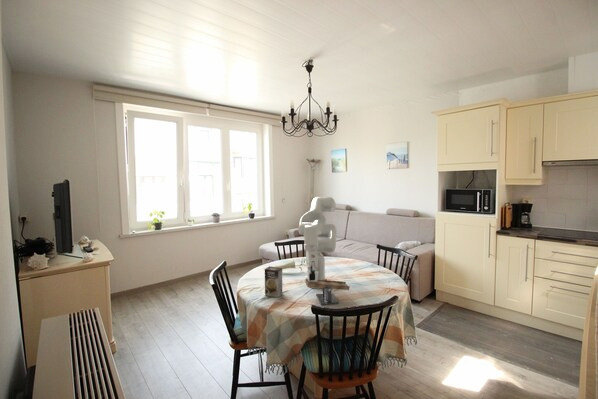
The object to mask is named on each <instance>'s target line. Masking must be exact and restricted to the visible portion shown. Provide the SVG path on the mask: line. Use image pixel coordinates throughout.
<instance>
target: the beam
mask: <svg viewBox="0 0 598 399" xmlns="http://www.w3.org/2000/svg"><path fill="white" fill-rule="evenodd" d="M304 283H305V284H306V286H307V288H311V287H314V288H313V289H315V288H320V289H323V288H327V286H329V285H331V290H341V291H350V286H349V285H348V284H347V282H346V281H343V280H342V281H339V280H328V279H327V280H317V282H312V281H308V279H306V280H305V281H304Z"/></svg>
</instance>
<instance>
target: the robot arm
mask: <svg viewBox="0 0 598 399" xmlns="http://www.w3.org/2000/svg"><path fill="white" fill-rule="evenodd" d="M336 206H337V203H336V201H335V199H334V198H333V197H331V196H316V197H314V198H313V199H312V201H311V202H310V208H309V211H307V212H306V213H304V214H303V215H302V216H301V218H300V219H299V223H298V230H297V231H298V233H299V235H301V236H303V240H304V244H303V246H304V251H305V264H306V265H307V269H308V268H310V273H309V280H310V281H312V280H315V269H317V270H318V271H319V273H318V280H323V279H325V277H326V275H325V274H326V271H325V270H326V269H325V267H326V266H325V265H326V263H325V262H326V260H325V259H326V258H325V256H324V255H323V253H333V252H335V251H336V247H337V227H336V225H335V224H333V223H327V218H326V217H325V216H324V213H333V212H335V211H336ZM311 269H312V270H311ZM304 278H305V280H306V279H307V276H306V275H305V277H304ZM310 288H312V289H316V290H317V289H321V288H314V287H310Z"/></svg>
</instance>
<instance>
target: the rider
mask: <svg viewBox="0 0 598 399" xmlns="http://www.w3.org/2000/svg"><path fill="white" fill-rule="evenodd" d="M311 270H312V269H311ZM309 273H310V268H308V267H307V279H308V281H310V280H309ZM318 273H319V271H318V270H317V269H315V280H312V282H317V280H318Z"/></svg>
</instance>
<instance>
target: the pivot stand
mask: <svg viewBox="0 0 598 399" xmlns="http://www.w3.org/2000/svg"><path fill="white" fill-rule="evenodd" d="M323 280H328V279H327V278H326V279H323ZM315 296H316V298H317V301H318V302H319V304H320V306H329V305H330V306H331V305H339V304H340V303H339V301H338V299H337V297H336V296H335V295H334V293H333V292H332V289H331V285H329V286H327V288H322V293H316V294H315Z"/></svg>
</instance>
